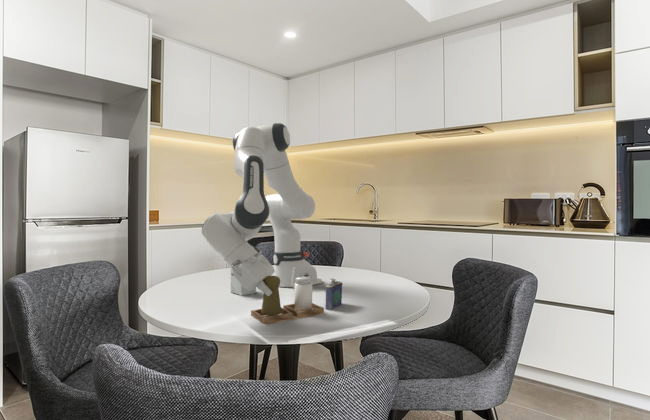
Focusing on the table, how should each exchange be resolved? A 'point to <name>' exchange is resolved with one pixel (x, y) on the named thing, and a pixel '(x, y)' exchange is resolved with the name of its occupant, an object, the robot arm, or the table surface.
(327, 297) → the flask
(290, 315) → the caddy
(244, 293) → the supplement box
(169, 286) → the table surface
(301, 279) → the salt shaker
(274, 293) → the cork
